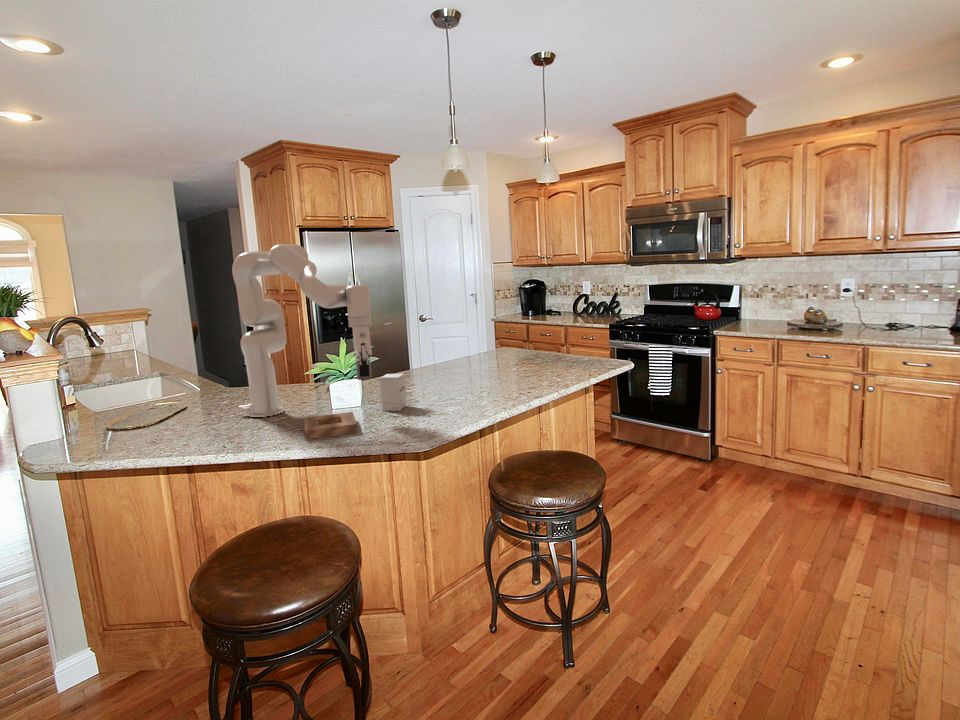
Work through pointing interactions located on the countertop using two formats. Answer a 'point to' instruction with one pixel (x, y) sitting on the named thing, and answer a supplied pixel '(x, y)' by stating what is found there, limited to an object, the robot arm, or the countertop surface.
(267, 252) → the robot arm
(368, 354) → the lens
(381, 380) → the supplement box
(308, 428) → the wooden slotted base
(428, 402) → the countertop surface
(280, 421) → the countertop surface
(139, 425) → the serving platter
